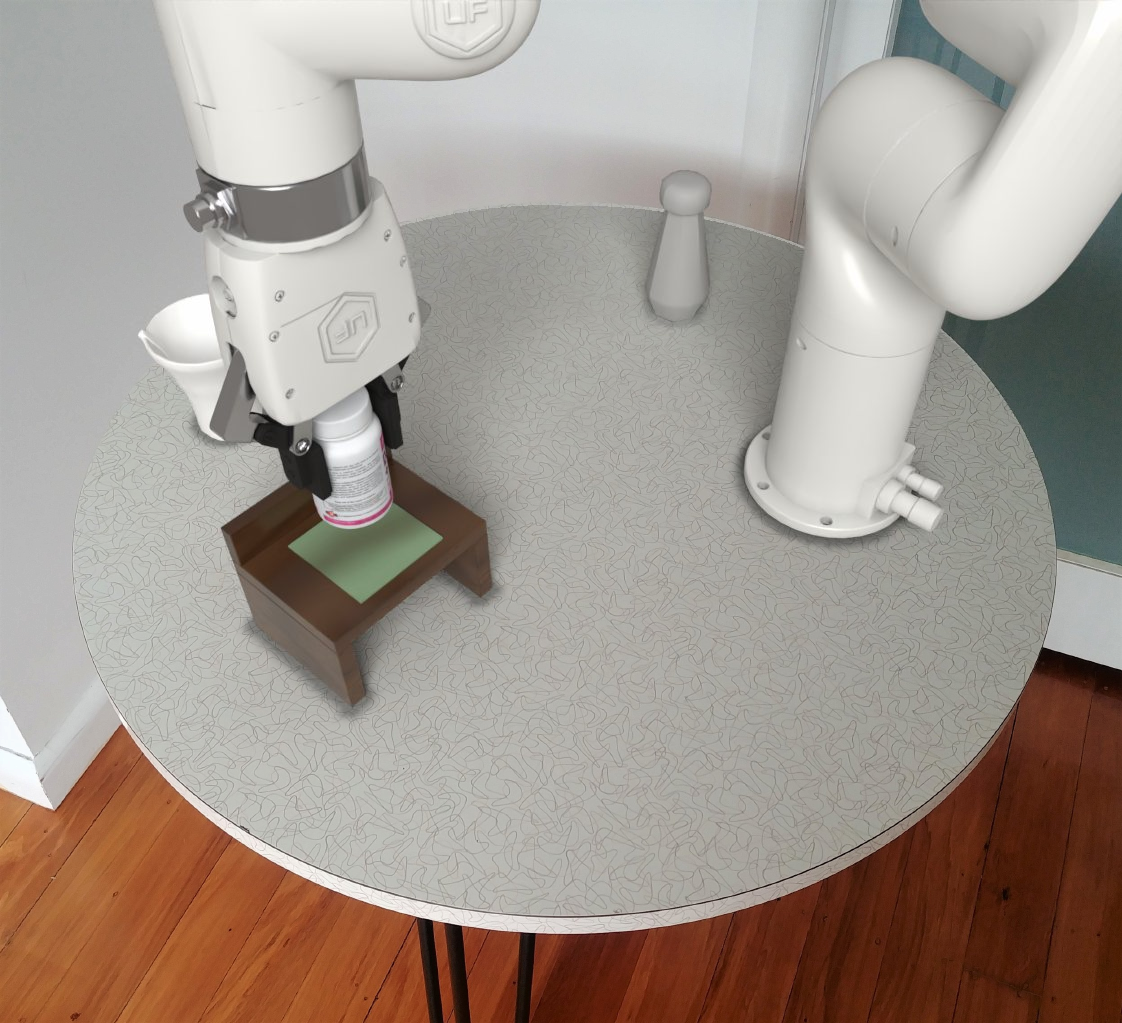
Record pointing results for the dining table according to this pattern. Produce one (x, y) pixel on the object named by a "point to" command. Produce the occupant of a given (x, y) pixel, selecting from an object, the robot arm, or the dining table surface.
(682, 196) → the salt shaker
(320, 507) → the pill bottle
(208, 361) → the cup
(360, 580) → the shelf
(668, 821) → the dining table surface
